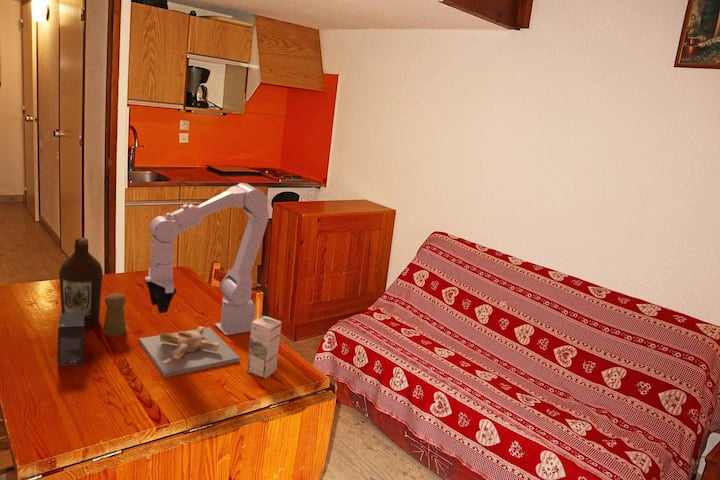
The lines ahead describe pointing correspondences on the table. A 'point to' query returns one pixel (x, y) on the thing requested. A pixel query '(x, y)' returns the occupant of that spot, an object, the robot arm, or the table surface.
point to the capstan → (189, 341)
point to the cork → (114, 315)
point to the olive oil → (81, 284)
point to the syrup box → (264, 346)
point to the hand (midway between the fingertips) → (159, 308)
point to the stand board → (187, 355)
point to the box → (71, 339)
